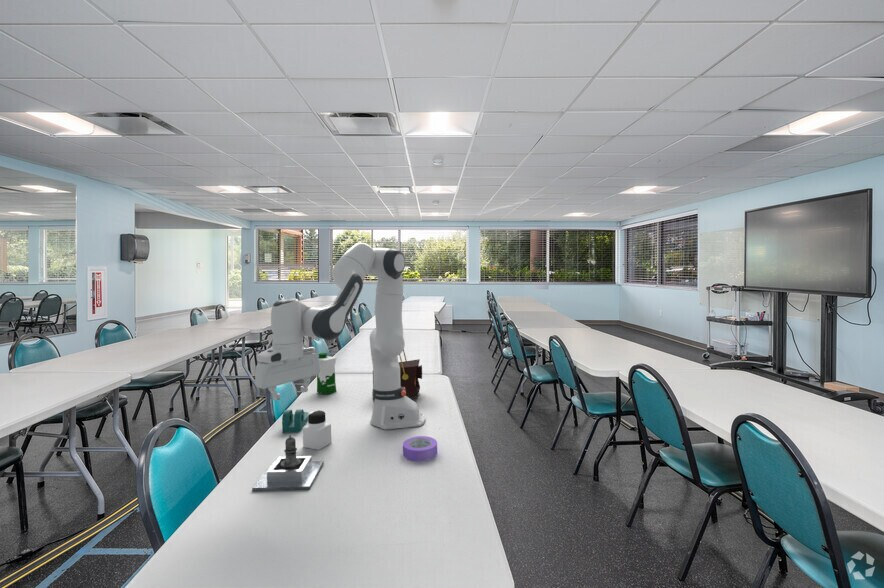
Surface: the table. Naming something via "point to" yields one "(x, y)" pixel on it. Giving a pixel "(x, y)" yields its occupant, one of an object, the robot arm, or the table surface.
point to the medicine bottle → (316, 431)
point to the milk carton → (326, 374)
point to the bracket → (294, 420)
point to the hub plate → (289, 476)
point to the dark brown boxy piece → (410, 376)
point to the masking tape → (420, 448)
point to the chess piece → (290, 455)
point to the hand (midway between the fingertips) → (290, 395)
